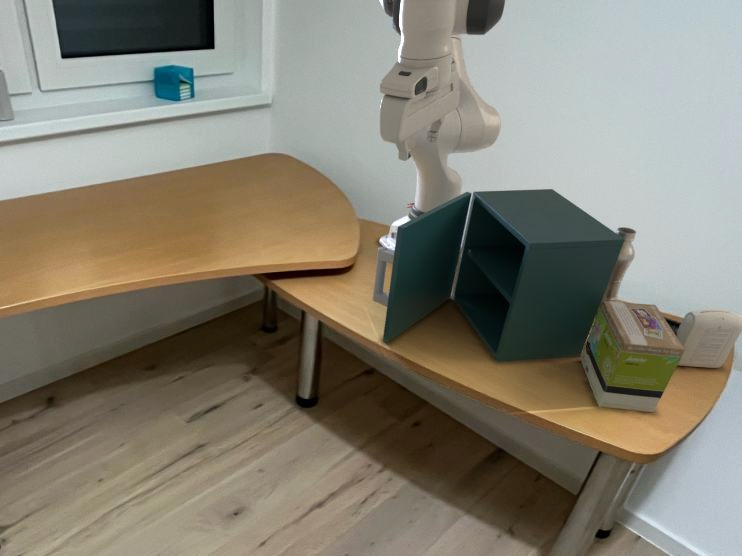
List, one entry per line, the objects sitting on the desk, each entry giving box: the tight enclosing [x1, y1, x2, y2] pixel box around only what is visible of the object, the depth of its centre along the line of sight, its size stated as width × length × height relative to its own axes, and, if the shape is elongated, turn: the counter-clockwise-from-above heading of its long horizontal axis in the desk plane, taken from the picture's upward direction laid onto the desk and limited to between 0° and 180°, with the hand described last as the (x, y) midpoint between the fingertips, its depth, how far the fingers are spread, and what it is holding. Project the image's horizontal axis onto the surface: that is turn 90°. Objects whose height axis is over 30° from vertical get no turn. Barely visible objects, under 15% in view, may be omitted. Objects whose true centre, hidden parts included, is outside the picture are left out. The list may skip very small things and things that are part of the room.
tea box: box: [580, 300, 685, 413], centre depth 105 cm, size 15×10×15 cm, turn 169°
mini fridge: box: [451, 188, 625, 363], centre depth 120 cm, size 18×26×26 cm
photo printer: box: [676, 308, 742, 369], centre depth 113 cm, size 10×4×12 cm, turn 85°
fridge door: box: [372, 191, 473, 343], centre depth 123 cm, size 7×26×26 cm, turn 137°
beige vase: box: [597, 226, 637, 313], centre depth 127 cm, size 6×7×20 cm
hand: (419, 149), depth 106 cm, fingers open, 8 cm apart
